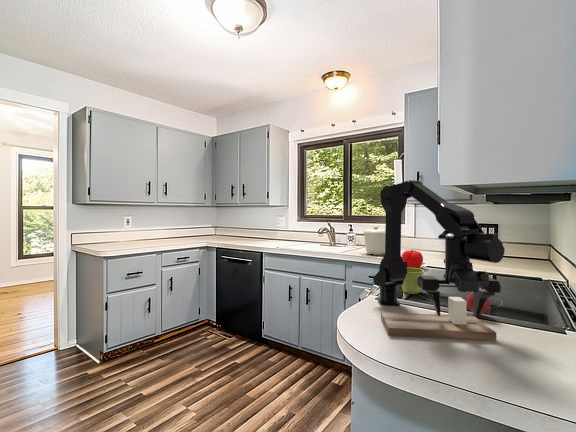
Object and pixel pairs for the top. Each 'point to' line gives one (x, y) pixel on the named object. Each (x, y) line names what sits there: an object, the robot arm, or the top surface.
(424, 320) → the fader console
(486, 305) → the onion
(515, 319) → the top surface
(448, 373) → the top surface
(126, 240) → the top surface
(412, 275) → the plant pot
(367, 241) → the canister
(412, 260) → the tomato
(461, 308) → the fader knob
